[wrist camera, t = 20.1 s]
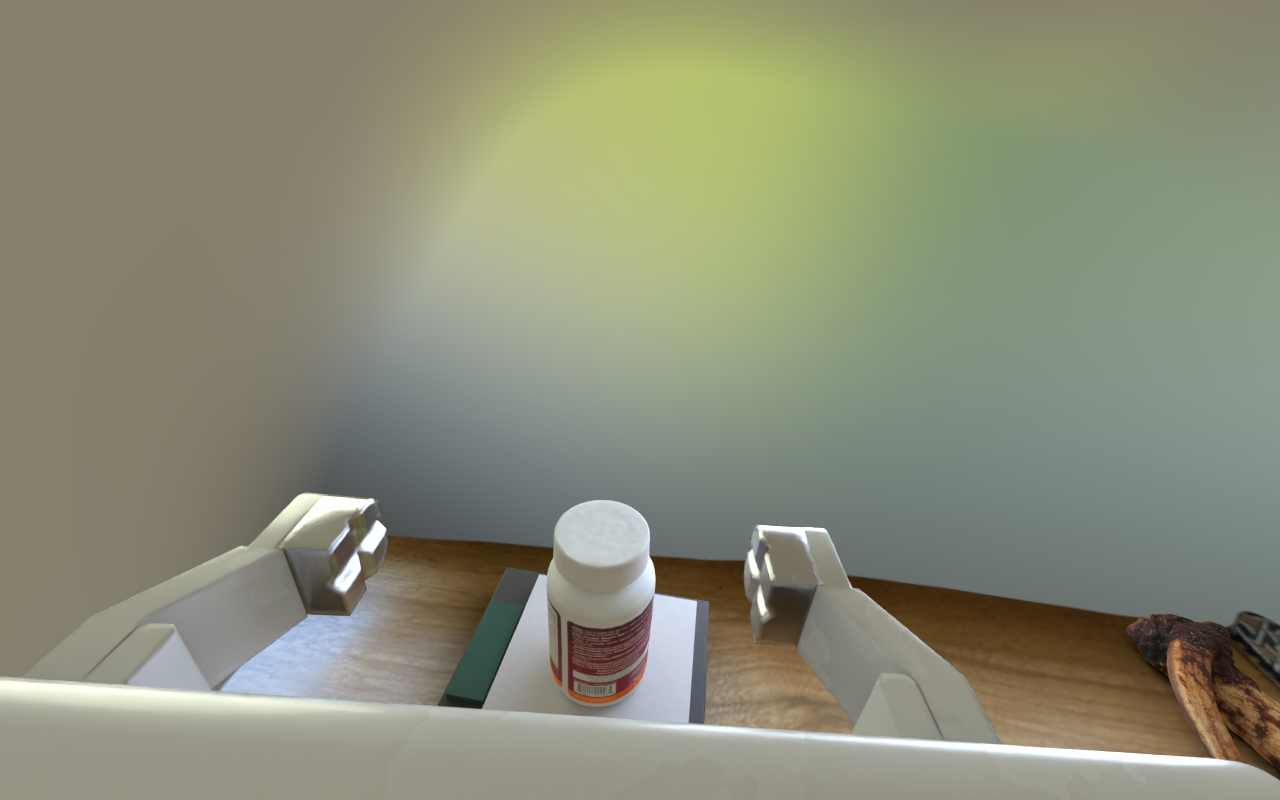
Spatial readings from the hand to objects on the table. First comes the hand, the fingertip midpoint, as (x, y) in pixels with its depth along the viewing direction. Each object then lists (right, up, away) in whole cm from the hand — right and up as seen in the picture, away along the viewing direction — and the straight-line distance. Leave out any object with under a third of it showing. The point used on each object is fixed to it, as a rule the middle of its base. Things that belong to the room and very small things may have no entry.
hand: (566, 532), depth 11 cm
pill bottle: (-1, -14, +21) cm, 26 cm away
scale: (-2, -17, +23) cm, 29 cm away
